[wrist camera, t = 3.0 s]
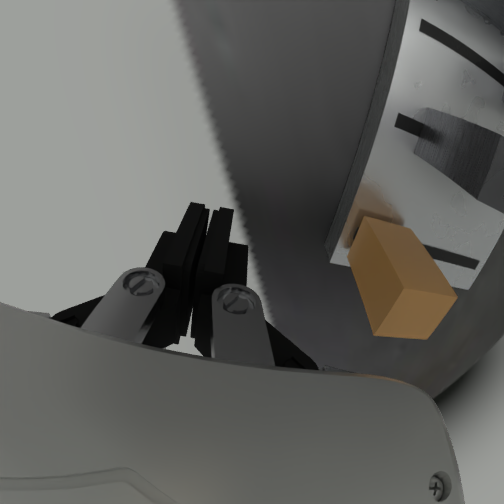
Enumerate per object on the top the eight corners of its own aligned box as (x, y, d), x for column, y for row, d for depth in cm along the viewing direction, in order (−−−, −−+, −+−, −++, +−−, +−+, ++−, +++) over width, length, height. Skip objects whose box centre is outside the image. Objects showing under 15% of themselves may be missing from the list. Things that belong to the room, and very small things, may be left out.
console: (536, 51, 8) (612, 71, 2) (457, 273, 17) (501, 345, 12) (403, -46, 7) (476, -88, 1) (324, 244, 17) (349, 339, 11)
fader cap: (410, 228, 13) (457, 297, 9) (392, 266, 15) (426, 339, 10) (364, 215, 13) (404, 287, 9) (346, 256, 14) (373, 335, 10)
